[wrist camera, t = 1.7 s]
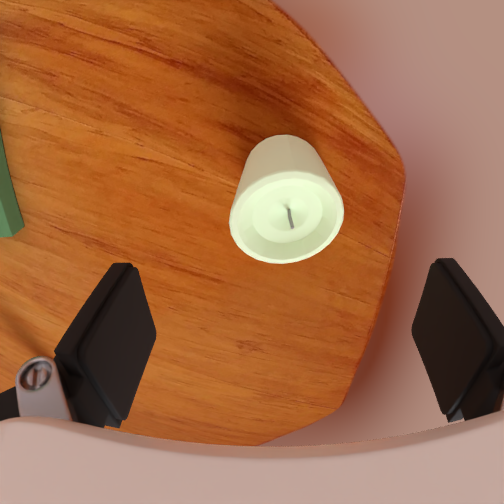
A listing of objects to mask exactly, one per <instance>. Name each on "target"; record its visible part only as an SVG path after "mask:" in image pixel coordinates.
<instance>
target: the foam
mask: <svg viewBox="0 0 504 504" xmlns="http://www.w3.org/2000/svg"><path fill="white" fill-rule="evenodd" d="M23 227H24V223H23V220H22V217H21V213H20V210H19V207H18V203H17V200H16V197H15V193H14V189H13V186H12V182H11V178H10V174H9V170H8V165H7V161H6V156H5V152H4V147H3V142H2V136H1V131H0V237H12V236H14V235H15V234H16V233H17V232H18V231H19V230H21V229H22V228H23Z"/></svg>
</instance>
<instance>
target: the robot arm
mask: <svg viewBox="0 0 504 504" xmlns="http://www.w3.org/2000/svg"><path fill="white" fill-rule="evenodd" d="M412 336H413V338H414V341H415V343H416V346H417V348H418V351H419V353H420V355H421V358H422V361H423V363H424V366H425V368H426V371H427V374H428V376H429V379H430V381H431V384H432V387H433V389H434V392H435V395H436V398H437V401H438V404H439V407H440V410H441V412H442V413H443V414H444V415H445V414H446V417H447V420H448V422H453V421H457V420H461V419H462V418H463V417H464V420H465V421H464V422H460V423H456V424H452V425H448V426H444V427H439V428H435V429H431V430H426V431H421V432H417V433H412V434H407V435H401V436H396V437H389V438H382V439H375V440H369V441H359V442H351V443H340V444H329V445H313V446H287V447H286V446H285V447H284V446H283V447H262V446H261V447H260V446H232V445H216V444H203V443H193V442H184V441H176V440H168V439H161V438H155V437H148V436H143V435H137V434H131V433H125V432H120V431H115V430H110V429H105V428H104V426H105V425H106V426H111V427H115V428H120V425H121V422H122V420H126V419H127V417H128V414H129V411H130V408H131V405H132V403H133V400H134V397H135V394H136V391H137V388H138V386H139V383H140V380H141V377H142V375H143V372H144V369H145V366H146V364H147V361H148V358H149V356H150V353H151V350H152V348H153V345H154V342H155V340H156V328H155V325H154V322H153V319H152V316H151V313H150V309H149V306H148V303H147V299H146V296H145V293H144V289H143V286H142V282H141V278H140V275H139V271H138V269H137V268H136V267H133V265H132V264H131V263H113V264H112V265H111V267H110V268H109V270H108V271H107V272H106V274H105V275H104V276H103V278H102V279H101V281H100V282H99V283H98V285H97V286H96V288H95V289H94V291H93V292H92V293H91V295H90V296H89V298H88V299H87V301H86V302H85V304H84V305H83V307H82V308H81V310H80V311H79V313H78V314H77V316H76V317H75V319H74V320H73V322H72V323H71V325H70V326H69V328H68V329H67V331H66V332H65V334H64V336H63V337H62V339H61V340H60V342H59V344H58V345H57V347H56V348H55V350H54V352H55V354H56V356H55V358H54V359H53V360H52V359H51V358H50V357H47V356H37V357H34V358H31V359H30V360H28V361H26V362H25V363H24V364H23V365H22V366H21V367H20V369H19V370H18V372H17V375H16V381H15V384H16V386H15V387H13V388H11V389H9V390H6V391H4V392H2V393H0V504H504V326H503V325H502V323H501V322H500V320H499V319H498V317H497V316H496V314H495V313H494V312H493V310H492V309H491V307H490V306H489V304H488V303H487V302H486V300H485V299H484V297H483V296H482V294H481V293H480V292H479V290H478V289H477V288H476V286H475V285H474V284H473V283H472V281H471V280H470V279H469V277H468V276H467V275H466V273H465V272H464V271H463V269H462V268H461V267H460V266H459V264H458V263H457V262H456V261H455V260H454V259H453V258H438V259H437V260H436V261H435V263H432V264H431V266H430V269H429V273H428V276H427V280H426V284H425V287H424V290H423V294H422V297H421V300H420V303H419V306H418V309H417V312H416V316H415V318H414V321H413V324H412Z"/></svg>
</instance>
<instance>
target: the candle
mask: <svg viewBox="0 0 504 504" xmlns="http://www.w3.org/2000/svg"><path fill="white" fill-rule="evenodd" d="M343 215H344V207H343V202H342V197H341V195H340V194H339V192H338V190H337V188H336V186H335V184H334V182H333V180H332V178H331V176H330V175H329V173H328V171H327V169H326V167H325V165H324V164H323V162H322V160H321V158H320V157H319V155H318V153H317V152H316V150H315V149H314V148H313V147H312V146H311V145H310V144H309V143H308V142H307V141H305V140H303V139H301V138H299V137H296V136H291V135H275V136H272V137H269V138H266V139H265V140H263V141H262V142H260V143H258V144H257V145H256V146H255V148H254V149H253V150H252V151H251V153H250V155H249V157H248V159H247V161H246V164H245V167H244V170H243V173H242V176H241V179H240V183H239V186H238V189H237V192H236V195H235V198H234V202H233V205H232V208H231V213H230V219H229V225H230V231H231V235H232V237H233V239H234V241H235V242H236V244H237V246H238V247H239V248H241V249H242V250H243V251H244V252H245V253H246V254H248V255H250V256H251V257H253V258H255V259H257V260H261V261H265V262H268V263H282V264H283V263H291V262H297V261H300V260H303V259H306V258H309V257H311V256H313V255H314V254H316V253H318V252H320V251H321V250H322V249H324V248H325V247H326V246H327V245H328V244H329V243H331V241H332V240H333V239H334V237H335V236H336V235H337V233H338V232H339V229H340V227H341V224H342V222H343Z"/></svg>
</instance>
